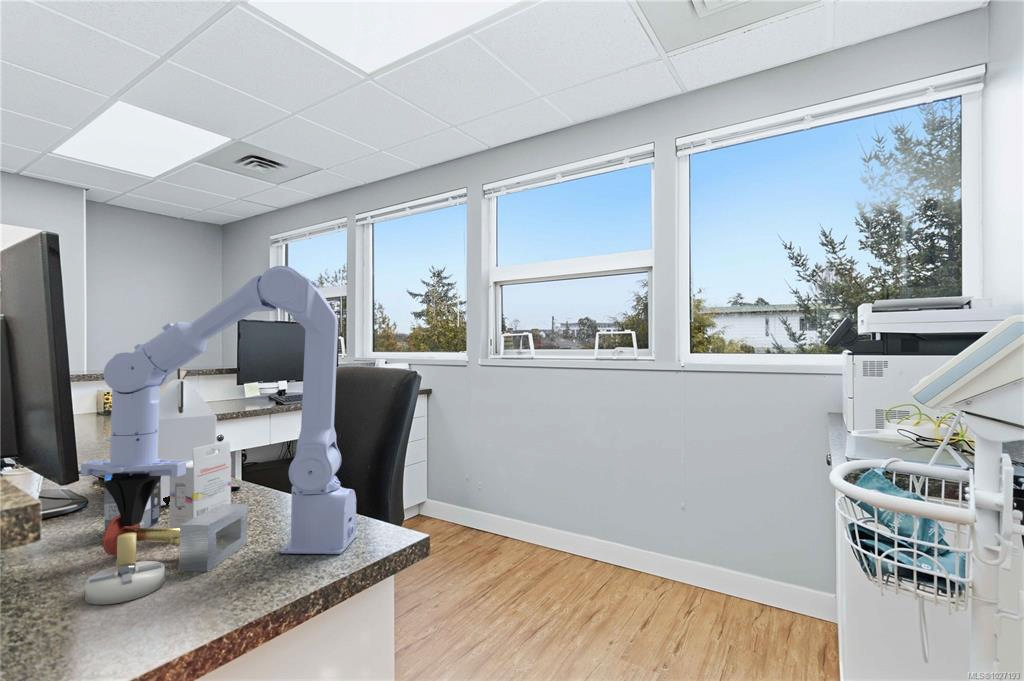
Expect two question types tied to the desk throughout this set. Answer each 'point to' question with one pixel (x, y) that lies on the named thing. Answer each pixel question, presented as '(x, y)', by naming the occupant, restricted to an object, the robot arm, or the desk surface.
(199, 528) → the eye block
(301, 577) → the desk surface
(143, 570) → the lock wheel
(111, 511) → the label tape box
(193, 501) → the ink cartridge box
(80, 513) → the desk surface
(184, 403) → the gable box
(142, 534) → the hook rod
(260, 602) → the desk surface
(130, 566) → the wheel spindle
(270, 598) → the desk surface
